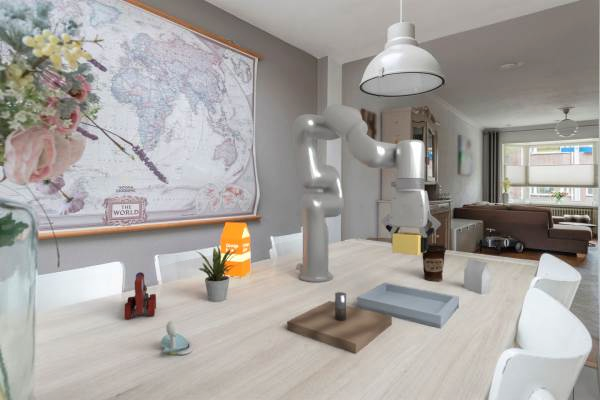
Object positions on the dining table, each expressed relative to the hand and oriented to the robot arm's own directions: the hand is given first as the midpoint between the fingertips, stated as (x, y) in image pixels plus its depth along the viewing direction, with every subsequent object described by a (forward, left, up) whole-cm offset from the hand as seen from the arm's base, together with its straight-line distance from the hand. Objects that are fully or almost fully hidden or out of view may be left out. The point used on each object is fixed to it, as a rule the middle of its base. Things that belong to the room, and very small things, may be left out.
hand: (409, 249), depth 91 cm
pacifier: (-29, -53, -17) cm, 62 cm away
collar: (0, 0, -1) cm, 1 cm away
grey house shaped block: (+12, +29, -16) cm, 35 cm away
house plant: (-46, -28, -16) cm, 56 cm away
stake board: (-8, -23, -16) cm, 29 cm away
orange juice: (-65, -6, -16) cm, 67 cm away
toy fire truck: (-54, -48, -16) cm, 74 cm away
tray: (0, 0, -16) cm, 16 cm away
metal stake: (-8, -23, -14) cm, 28 cm away
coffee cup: (-3, +34, -16) cm, 38 cm away
